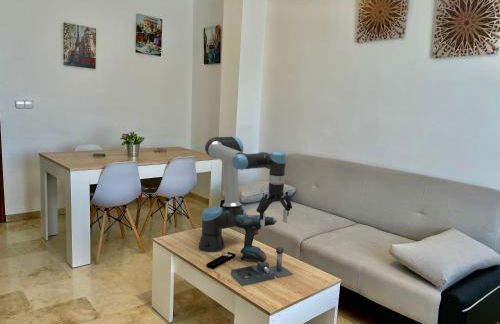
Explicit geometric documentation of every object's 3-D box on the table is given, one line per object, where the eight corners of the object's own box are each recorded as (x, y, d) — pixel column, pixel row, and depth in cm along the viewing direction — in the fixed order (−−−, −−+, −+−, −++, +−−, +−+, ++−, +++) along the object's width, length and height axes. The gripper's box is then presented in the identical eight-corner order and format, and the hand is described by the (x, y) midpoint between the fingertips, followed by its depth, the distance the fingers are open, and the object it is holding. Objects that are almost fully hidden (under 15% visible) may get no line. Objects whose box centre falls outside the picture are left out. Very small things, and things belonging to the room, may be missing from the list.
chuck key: (275, 273, 194) (276, 250, 192) (275, 267, 200) (276, 246, 198) (282, 273, 194) (284, 251, 192) (281, 268, 200) (283, 246, 198)
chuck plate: (230, 275, 190) (231, 264, 189) (262, 269, 199) (262, 258, 198) (242, 286, 180) (242, 274, 179) (274, 278, 189) (275, 267, 188)
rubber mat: (265, 268, 200) (265, 267, 200) (279, 265, 204) (279, 264, 204) (278, 277, 190) (278, 277, 189) (292, 274, 194) (293, 273, 194)
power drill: (274, 264, 205) (276, 219, 201) (232, 259, 209) (233, 215, 206) (276, 258, 214) (278, 214, 210) (236, 253, 218) (237, 210, 214)
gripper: (258, 186, 181) (256, 229, 185) (301, 182, 193) (297, 223, 197) (250, 183, 187) (248, 224, 191) (292, 179, 200) (289, 218, 204)
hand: (273, 223), depth 194 cm, fingers open, 13 cm apart
